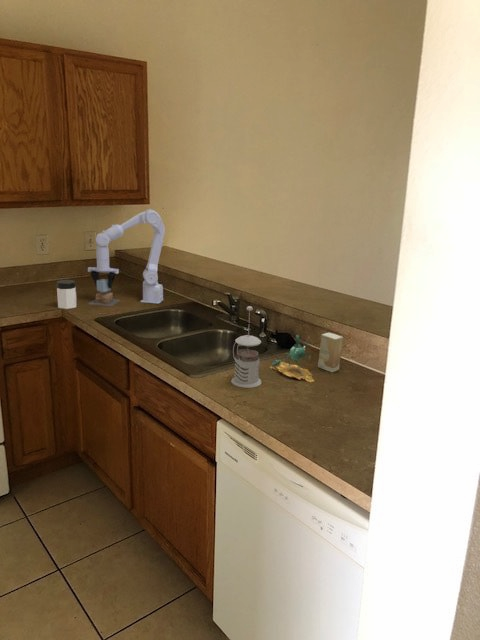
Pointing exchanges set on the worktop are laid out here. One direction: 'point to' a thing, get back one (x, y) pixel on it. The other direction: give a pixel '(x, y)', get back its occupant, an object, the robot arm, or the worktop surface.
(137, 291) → the worktop surface
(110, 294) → the slab upper
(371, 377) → the worktop surface
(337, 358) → the skincare box
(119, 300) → the mat
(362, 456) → the worktop surface
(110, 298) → the tan cardboard box
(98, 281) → the blue cube
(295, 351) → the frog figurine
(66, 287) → the jar
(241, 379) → the french press
